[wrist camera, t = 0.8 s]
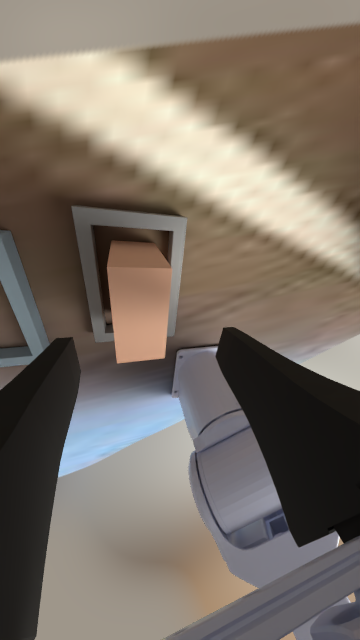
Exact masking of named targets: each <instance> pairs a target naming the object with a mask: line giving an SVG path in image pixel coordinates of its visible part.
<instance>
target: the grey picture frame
mask: <svg viewBox="0 0 360 640" xmlns="http://www.w3.org/2000/svg"><path fill="white" fill-rule="evenodd" d="M0 281H1V283H2V285H3V288H4V290H5V292H6V295H7V297H8V299H9V302H10V304H11V306H12V309H13V311H14V313H15V316H16V318H17V320H18V323H19V325H20V327H21V330H22V332H23V334H24V337H25V339H26V341H27V344H28V346H26V347H13V348H0V367H8V366H18V365H28V364H30V363H31V362H32V361H33V360H34V359H35V358H36V357H37V356H38V355H40V354H41V353H42V352H43V351H44V350H45V349H46V348H47V347H48V346H49V345H50V343H49V341H48V338H47V335H46V332H45V329H44V326H43V323H42V320H41V317H40V315H39V312H38V309H37V306H36V303H35V300H34V297H33V294H32V292H31V289H30V286H29V283H28V280H27V277H26V274H25V271H24V268H23V266H22V263H21V260H20V257H19V254H18V251H17V248H16V245H15V243H14V240H13V237H12V234H11V231H6V230H0Z"/></svg>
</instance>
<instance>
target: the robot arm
mask: <svg viewBox="0 0 360 640" xmlns="http://www.w3.org/2000/svg"><path fill="white" fill-rule="evenodd" d="M80 373H81V370H80V366H79V361H78V357H77V353H76V349H75V345H74V341H73V337H69V338H56V339H55V340H54V341H53V342H52V343H51V344H50V345H49V346H48V347H47V348H46V349H45V350H44V351H43V352H42V353H41V354H40V355H38V356H37V357H36V358H35V359H34V360H33V361H32V362H31V363H30V364H29V365H28V366H27V367H26V368H25V369H24V370H23V371H22V372H20V373H19V374H18V375H17V376H16V377H15V378H14V379H13V380H12V381H11V382H9V383H8V384H7V385H6V386H5V387H4V388H3V389H1V390H0V640H34V639H35V637H36V634H37V624H38V615H39V607H40V599H41V590H42V582H43V573H44V565H45V558H46V551H47V544H48V536H49V529H50V522H51V516H52V509H53V503H54V496H55V490H56V484H57V478H58V472H59V466H60V461H61V456H62V452H63V447H64V443H65V440H66V436H67V432H68V428H69V425H70V421H71V417H72V413H73V410H74V406H75V402H76V398H77V394H78V388H79V381H80ZM172 397H173V398H178V397H179V400H180V404H181V407H182V411H183V414H184V417H185V421H186V424H187V428H188V431H189V433H190V436H191V438H192V440H193V443H194V447H195V449H196V450H195V451H193V452H192V453H191V456H190V463H189V480H190V485H191V489H192V493H193V497H194V500H195V503H196V506H197V508H198V511H199V513H200V516H201V518H202V520H203V522H204V524H205V525H206V527H207V528H208V530H209V531H210V532H211V534H212V536H213V538H214V540H215V542H216V544H217V546H218V548H219V550H220V553H221V555H222V557H223V559H224V561H226V563H227V566H228V568H229V571H230V572H231V573H232V574H234V575H235V576H237V577H239V578H240V579H242V580H244V581H246V582H248V583H250V584H252V585H253V586H255V587H257V588H259V589H257V590H255V591H253V592H251V593H249V594H247V595H245V596H243V597H242V598H240V599H238V600H236V601H234V602H232V603H230V604H228V605H226V606H225V607H223V608H221V609H219V610H217V611H215V612H213V613H211V614H209V615H207V616H206V617H204V618H202V619H200V620H198V621H196V622H194V623H192V624H190V625H188V626H186V627H185V628H183V629H181V630H179V631H177V632H175V633H173V634H171V635H170V636H168V637H166V638H164V639H162V640H280V639H281V638H283V637H284V636H286V635H287V634H289V633H291V632H292V631H293V633H294V635H295V638H296V640H360V391H358V390H355V389H352V388H350V387H348V386H345V385H343V384H340V383H338V382H335V381H333V380H330V379H328V378H326V377H324V376H322V375H319V374H317V373H315V372H313V371H311V370H309V369H307V368H305V367H303V366H301V365H299V364H297V363H295V362H293V361H291V360H289V359H288V358H286V357H284V356H282V355H280V354H279V353H277V352H275V351H274V350H272V349H270V348H268V347H267V346H265V345H263V344H262V343H260V342H259V341H257V340H255V339H254V338H252V337H250V336H249V335H247V334H245V333H244V332H242V331H240V330H238V329H236V328H234V327H227V328H223V331H222V334H221V338H220V341H219V345H218V346H211V347H202V348H192V349H182V350H179V351H178V352H177V356H176V364H175V372H174V380H173V387H172ZM339 538H341V540H342V541H343V543H344V544H342V545H341V546H338V543H339ZM353 592H354V594H355V597H356V602H352V603H351V602H350V600H349V599H348V597H347V596H348V595H350V594H351V593H353Z"/></svg>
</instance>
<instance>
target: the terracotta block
mask: <svg viewBox="0 0 360 640" xmlns="http://www.w3.org/2000/svg"><path fill="white" fill-rule="evenodd" d="M107 273H108V283H109V292H110V302H111V311H112V321H113V330H114V340H115V349H116V359H117V363H126V362H135V361H144V360H153V359H162V358H165V350H166V338H167V326H168V314H169V302H170V290H171V278H172V267H171V266H170V264H169V263H168V262H167V260H166V259H165V257H164V256H163V255H162V253H161V252H160V250H159V249H158V247H157V246H156V245H155V243H148V242H131V241H114V240H112V241H111V247H110V252H109V258H108V263H107Z"/></svg>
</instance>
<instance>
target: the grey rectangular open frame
mask: <svg viewBox="0 0 360 640" xmlns="http://www.w3.org/2000/svg"><path fill="white" fill-rule="evenodd" d="M71 208H72V214H73V219H74V225H75V230H76V236H77V242H78V247H79V253H80V259H81V264H82V270H83V276H84V281H85V287H86V293H87V298H88V304H89V310H90V315H91V321H92V327H93V332H94V338H95V342H108V341H115V340H114V330H113V325H106V321H105V313H104V305H103V298H102V290H101V282H100V275H99V267H98V259H97V251H96V244H95V236H94V228H93V225H102V226H115V227H128V228H141V229H153V230H166V231H169V244H168V258H167V262H168V263H169V264H170V266H171V267H172V278H171V290H170V302H169V314H168V326H167V337H170V336H174V333H175V324H176V315H177V306H178V297H179V288H180V279H181V270H182V261H183V252H184V243H185V234H186V225H187V218H186V217H183V216H177V215H167V214H157V213H147V212H138V211H128V210H118V209H108V208H99V207H89V206H79V205H74V206H71Z"/></svg>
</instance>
